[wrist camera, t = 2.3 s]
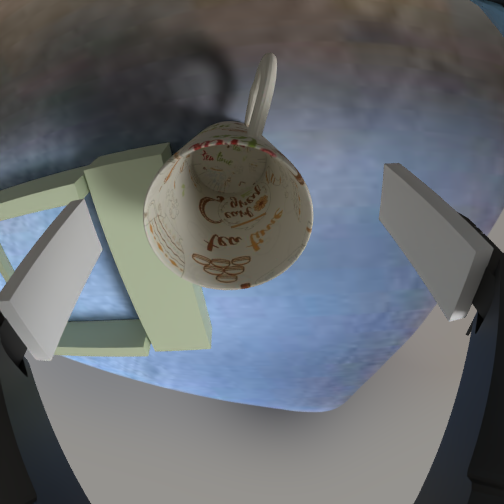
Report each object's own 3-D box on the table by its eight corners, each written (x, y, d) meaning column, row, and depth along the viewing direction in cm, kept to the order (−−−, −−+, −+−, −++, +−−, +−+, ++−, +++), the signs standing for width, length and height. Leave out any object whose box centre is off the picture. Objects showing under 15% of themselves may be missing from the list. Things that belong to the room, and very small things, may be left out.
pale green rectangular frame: (-27, 195, 22) (-49, 214, 19) (169, 142, 22) (157, 159, 19) (46, 332, 34) (35, 355, 31) (211, 327, 34) (210, 356, 31)
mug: (167, 197, 25) (138, 276, 17) (198, 40, 18) (172, 29, 10) (267, 216, 26) (284, 300, 18) (314, 68, 20) (368, 80, 11)
